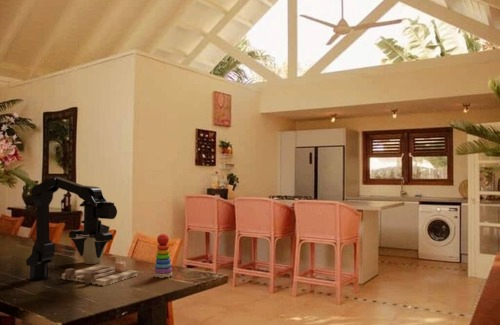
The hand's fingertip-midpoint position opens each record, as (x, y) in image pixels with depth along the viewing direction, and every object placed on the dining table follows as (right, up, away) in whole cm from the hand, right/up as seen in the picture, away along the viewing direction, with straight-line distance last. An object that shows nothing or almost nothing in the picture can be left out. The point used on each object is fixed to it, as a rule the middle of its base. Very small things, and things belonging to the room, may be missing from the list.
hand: (90, 256), depth 171 cm
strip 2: (+4, -10, +8) cm, 14 cm away
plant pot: (-15, -13, +42) cm, 46 cm away
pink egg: (+7, -10, +15) cm, 19 cm away
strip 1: (-6, -10, +13) cm, 18 cm away
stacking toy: (+26, -13, +16) cm, 33 cm away
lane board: (0, -12, +12) cm, 17 cm away
